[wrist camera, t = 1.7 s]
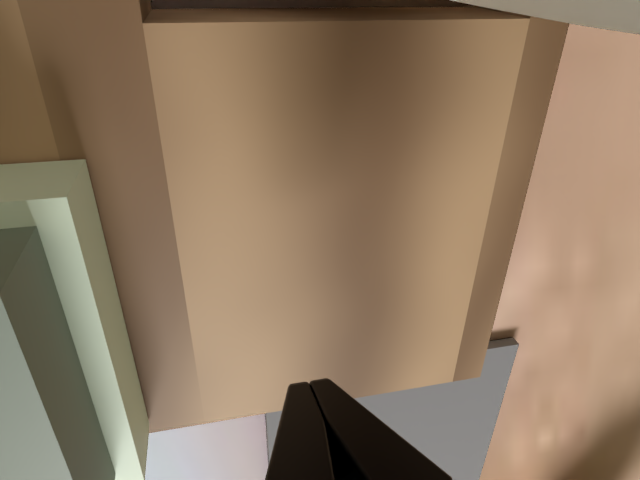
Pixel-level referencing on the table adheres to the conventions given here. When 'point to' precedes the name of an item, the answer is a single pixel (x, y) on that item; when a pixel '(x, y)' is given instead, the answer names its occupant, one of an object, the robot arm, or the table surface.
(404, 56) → the puzzle board
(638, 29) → the can
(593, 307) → the table surface
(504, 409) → the table surface
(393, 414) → the mat
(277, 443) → the robot arm
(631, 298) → the table surface
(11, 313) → the cover
